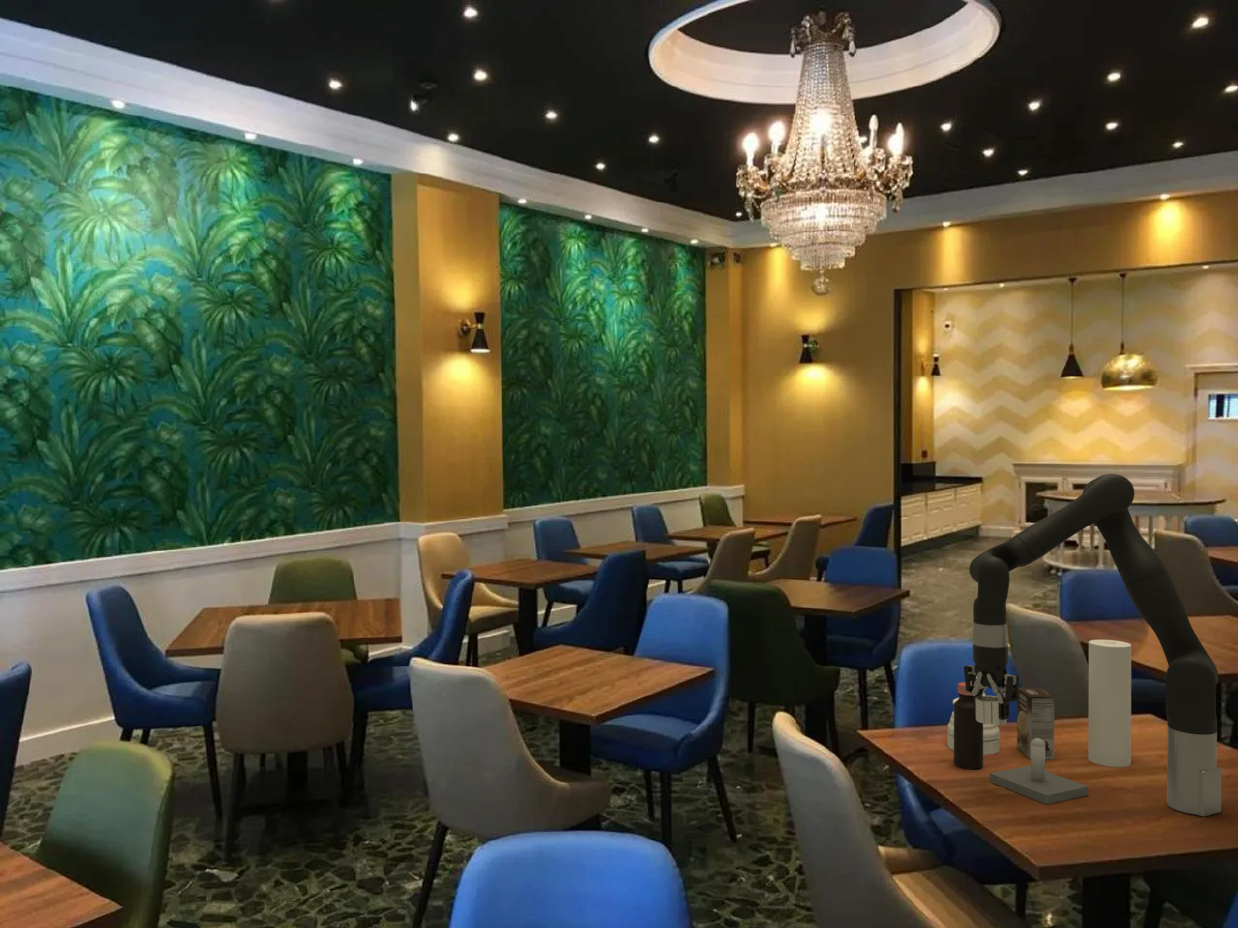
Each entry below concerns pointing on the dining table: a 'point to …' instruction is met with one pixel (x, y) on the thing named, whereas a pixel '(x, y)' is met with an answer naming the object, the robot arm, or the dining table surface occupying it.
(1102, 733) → the cylinder container
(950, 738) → the honey pot
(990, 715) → the ring
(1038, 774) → the piston block
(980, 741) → the bottle
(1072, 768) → the dining table surface
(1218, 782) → the robot arm
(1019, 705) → the coffee box
